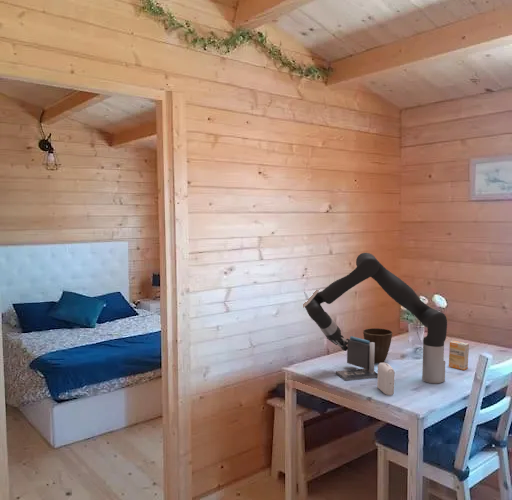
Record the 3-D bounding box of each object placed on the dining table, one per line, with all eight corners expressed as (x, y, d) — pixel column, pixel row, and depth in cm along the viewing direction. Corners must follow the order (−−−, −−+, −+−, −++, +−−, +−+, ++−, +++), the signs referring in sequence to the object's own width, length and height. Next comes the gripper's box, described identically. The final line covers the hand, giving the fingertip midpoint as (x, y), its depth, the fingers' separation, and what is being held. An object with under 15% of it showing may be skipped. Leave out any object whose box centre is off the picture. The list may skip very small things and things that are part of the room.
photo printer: (395, 395, 221) (396, 367, 220) (386, 395, 220) (386, 367, 219) (384, 386, 231) (385, 360, 230) (376, 387, 230) (376, 360, 229)
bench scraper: (376, 370, 249) (376, 341, 248) (370, 372, 246) (371, 342, 245) (352, 363, 261) (352, 335, 259) (347, 364, 258) (347, 336, 257)
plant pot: (366, 365, 262) (367, 335, 260) (359, 357, 277) (360, 328, 275) (395, 365, 262) (396, 334, 261) (387, 357, 277) (387, 328, 276)
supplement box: (448, 367, 260) (449, 341, 259) (452, 365, 263) (453, 340, 262) (464, 370, 254) (465, 344, 253) (468, 368, 257) (469, 343, 256)
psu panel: (368, 370, 254) (368, 367, 254) (380, 377, 244) (380, 374, 244) (335, 373, 249) (335, 370, 249) (345, 380, 239) (345, 377, 239)
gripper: (344, 324, 241) (360, 346, 250) (323, 320, 251) (339, 340, 260) (336, 337, 238) (352, 358, 247) (315, 332, 248) (331, 352, 257)
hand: (345, 349), depth 253 cm, fingers closed
